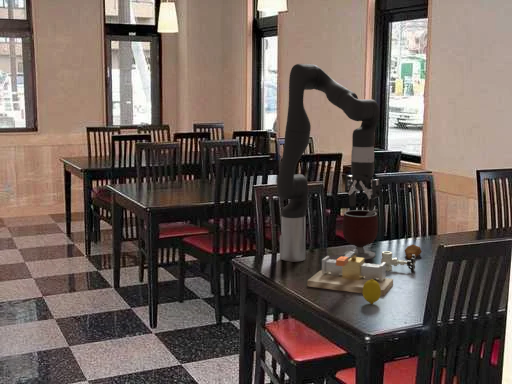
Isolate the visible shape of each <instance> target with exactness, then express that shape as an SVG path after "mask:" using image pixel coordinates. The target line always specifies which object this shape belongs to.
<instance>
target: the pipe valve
mask: <svg viewBox="0 0 512 384" xmlns="http://www.w3.org/2000/svg"><path fill="white" fill-rule="evenodd" d="M336 260H337V259H331V258H330V255H327V256H325V257H323V258H322V259H321V270H322V274H323V275H325V274H326V273H327V272H331V276H337V277H339V276H341V275H342V278H344V279H352V280H360V279H361V278H362V277H363V276H365V280H371V279H373V280H375V279H376V278H379V281H383V280H384V279H385V278H387V277H386V273H387V271H386V262H383V263H382V264H381V263H380V264H377V263H366V262H365V260H366V259H365V258H359V257H356V254H355V255H353V256H352V257H351V258H350V259H349V260H348V263H347V264H346V265H345V266H336Z"/></svg>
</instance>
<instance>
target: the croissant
mask: <svg viewBox="0 0 512 384" xmlns="http://www.w3.org/2000/svg"><path fill="white" fill-rule="evenodd" d="M404 254H405V256H406V259H407V260H409V259H411V258H413V257H412V255H415V256H416V258H419V256H421V254H422V249H421V247H420V246H418V245H415V244H414V243H413V244H411V245H407V247H405V249H404Z"/></svg>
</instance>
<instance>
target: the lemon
mask: <svg viewBox="0 0 512 384" xmlns="http://www.w3.org/2000/svg"><path fill="white" fill-rule="evenodd" d="M380 295H381V288H380V285H379V283H378V282H377V281H375V280H373V279H371V280H368V281H367V282H366V283H365V284H364V286H363V293H362V296H363V299H364V300H365V301H366V302H367V303H369V304H371V305H373V304H374V303H376V302H377V301H379V299H380V297H381V296H380Z"/></svg>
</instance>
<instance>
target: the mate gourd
mask: <svg viewBox="0 0 512 384" xmlns="http://www.w3.org/2000/svg"><path fill="white" fill-rule="evenodd" d="M378 211H379V209H378V208H376V209H375V208H374V209H373V210H365V209H364V210H363V209H354V210H347V211H344V212H343V218H342V225H341V226H342V235H343V238H344V239H345V242H347V243H348V244H350V245H352V246H355V249H357V250H358V254H356V257H359V258H365V260H370V259H374V258H375V257H376V252H374V251H370V250H365V249H364V247H367V246H368V245H371V244H373V242H375V240H376V239H377V237H378V232H379V221H378V213H377V212H378ZM348 252H350V250H346V251H345V252H344V254H343V255H344V256H345V255H346V254H347V253H348ZM344 256H343V257H344Z"/></svg>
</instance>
